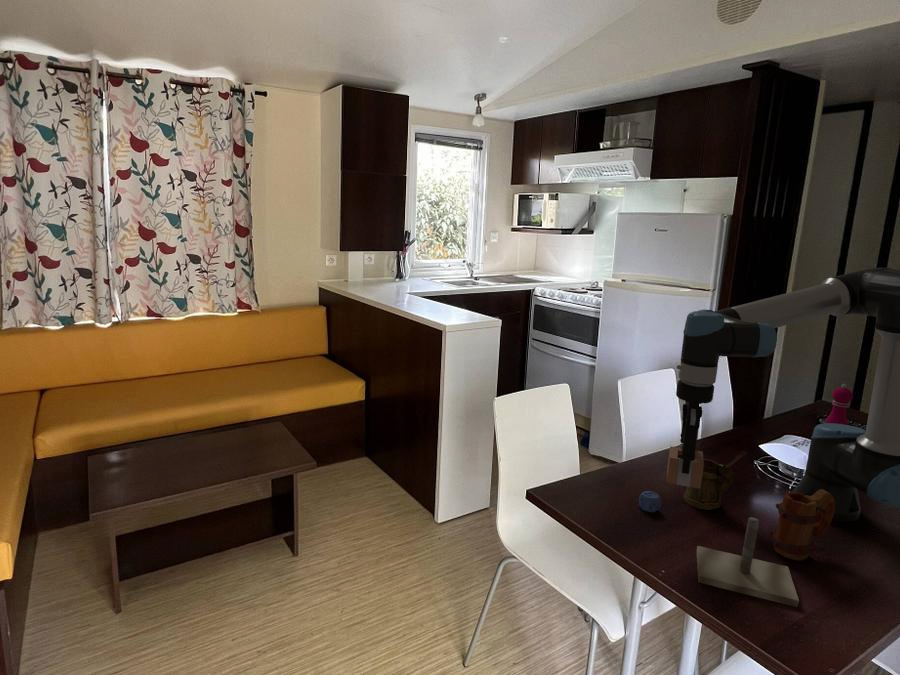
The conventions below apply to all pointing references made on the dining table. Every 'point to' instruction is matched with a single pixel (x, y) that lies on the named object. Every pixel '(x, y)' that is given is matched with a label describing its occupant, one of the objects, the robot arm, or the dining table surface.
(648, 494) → the decorative dice
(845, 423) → the pepper mill
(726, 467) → the wooden mug
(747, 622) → the dining table surface
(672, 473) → the bead
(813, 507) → the mug
